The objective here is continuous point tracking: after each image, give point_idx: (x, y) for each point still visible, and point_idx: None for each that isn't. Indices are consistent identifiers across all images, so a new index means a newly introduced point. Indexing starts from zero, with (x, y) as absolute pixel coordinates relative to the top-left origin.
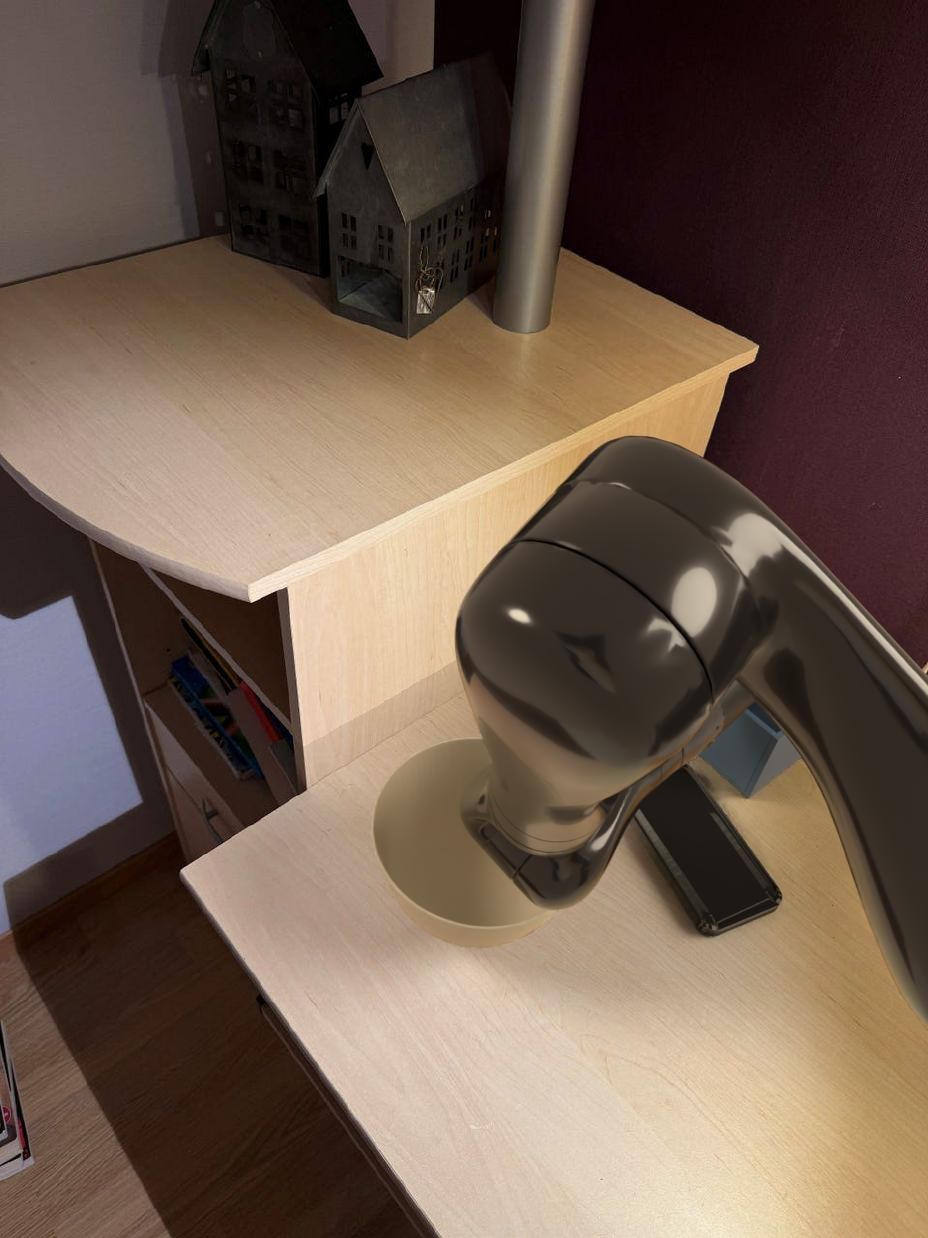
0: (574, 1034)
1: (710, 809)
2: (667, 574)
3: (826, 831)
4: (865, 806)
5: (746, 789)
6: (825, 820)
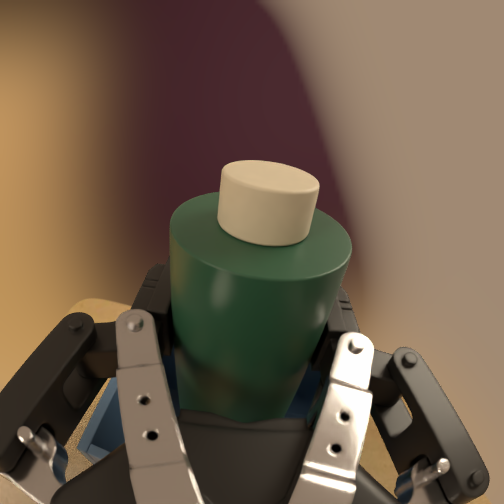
0: None
1: None
2: None
3: (386, 487)
4: None
5: None
6: (378, 479)
